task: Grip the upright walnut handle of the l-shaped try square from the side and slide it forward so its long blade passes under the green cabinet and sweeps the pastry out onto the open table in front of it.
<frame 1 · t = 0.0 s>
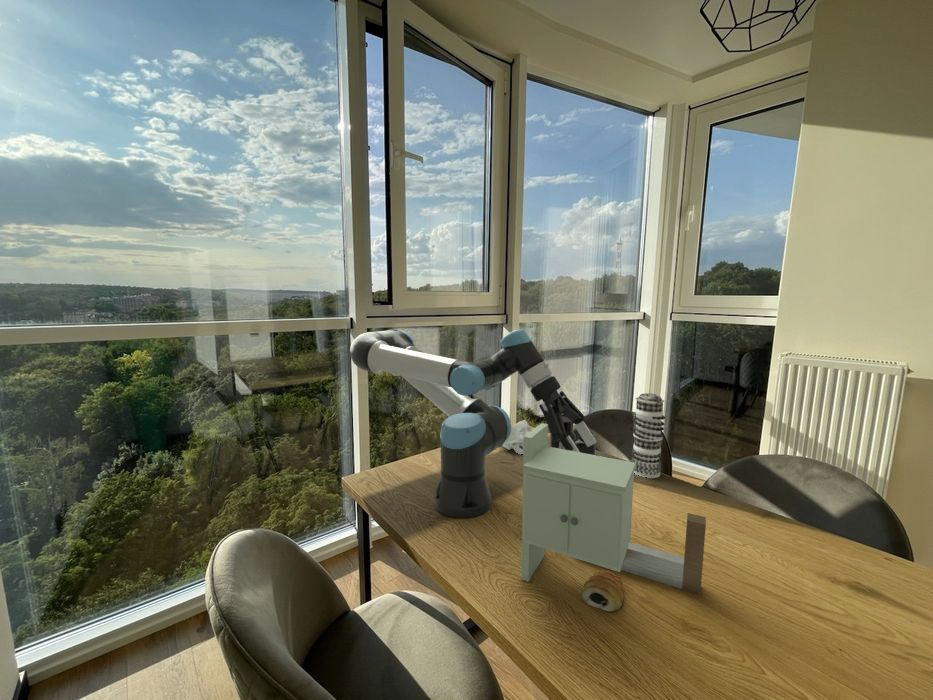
hand: (586, 452, 105), 15 cm above the table, tool tilted 35°, fingers open, 13 cm apart
decorative candle: (645, 472, 130), on the table
l-shaped try square: (691, 587, 78), on the table
green cabinet: (575, 589, 78), on the table
supplement bottle: (583, 468, 134), on the table
skull bowl: (517, 450, 149), on the table
pastry: (603, 598, 76), on the table
ink bottle: (562, 452, 147), on the table
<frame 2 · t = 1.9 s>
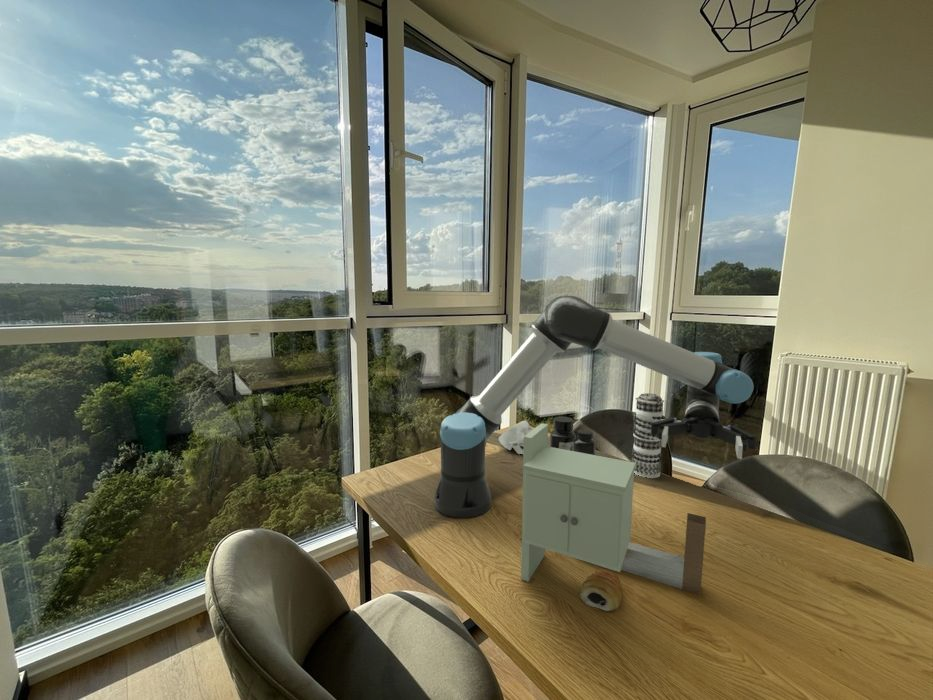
hand: (700, 446, 84), 25 cm above the table, tool horizontal, fingers open, 13 cm apart
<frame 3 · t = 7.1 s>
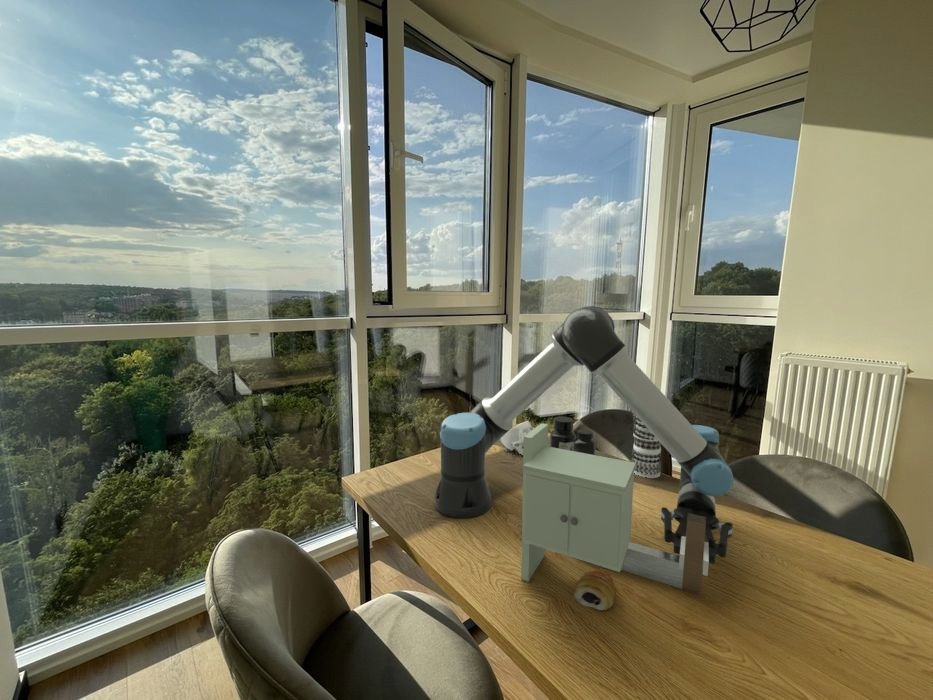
hand: (693, 564, 73), 8 cm above the table, tool horizontal, fingers closed on l-shaped try square, 3 cm apart
l-shaped try square: (691, 587, 78), on the table, touching gripper
pastry: (594, 596, 76), on the table
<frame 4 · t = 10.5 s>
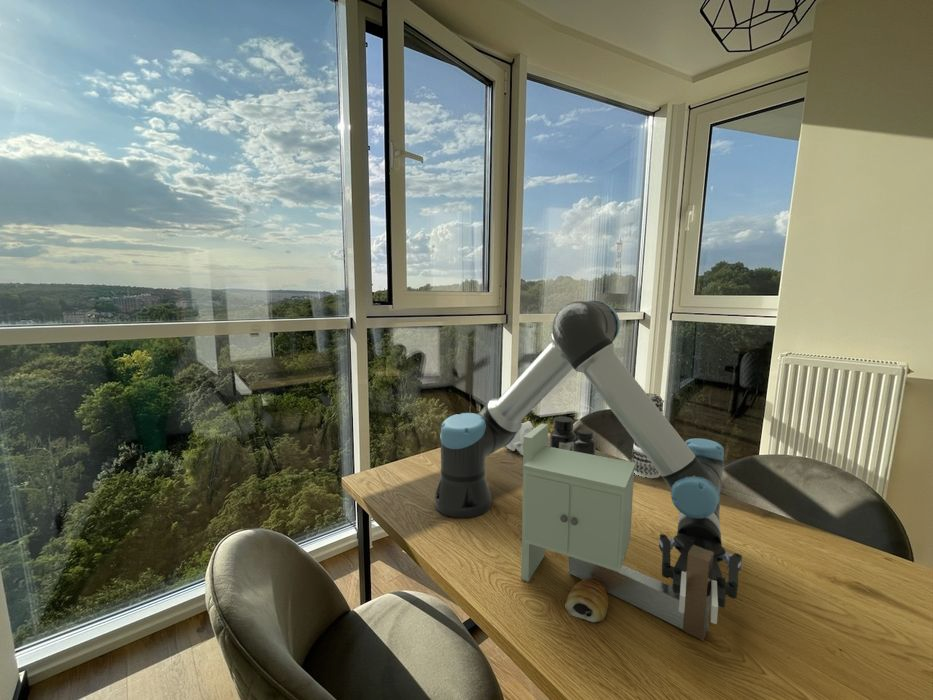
hand: (698, 609, 62), 8 cm above the table, tool horizontal, fingers closed on l-shaped try square, 3 cm apart
l-shaped try square: (695, 629, 68), on the table, touching gripper, pastry
pastry: (587, 607, 74), on the table, touching l-shaped try square
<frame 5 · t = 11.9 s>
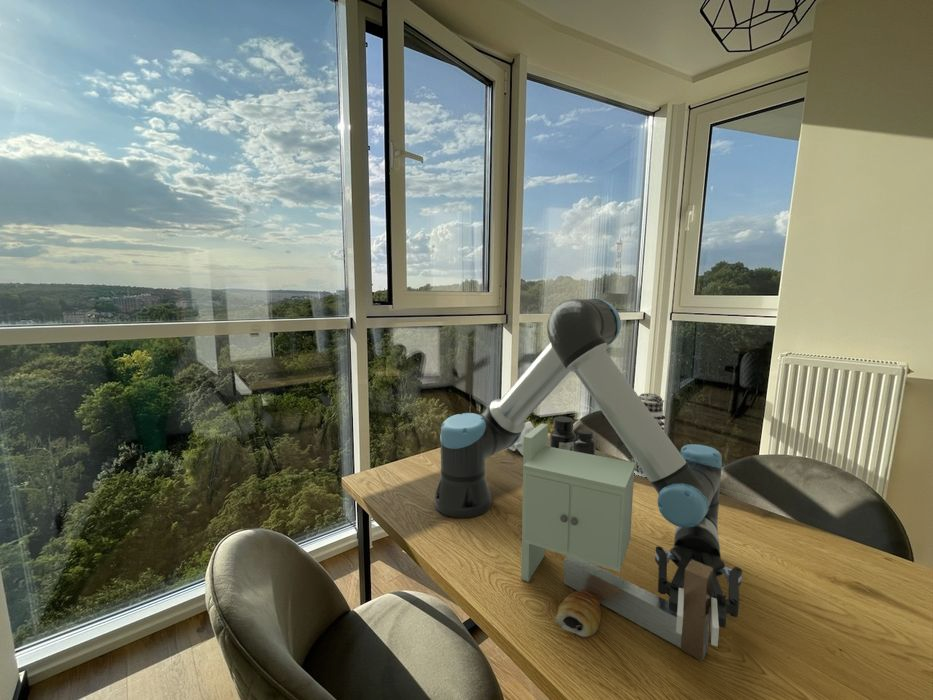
hand: (697, 630, 58), 8 cm above the table, tool horizontal, fingers closed on l-shaped try square, 4 cm apart
l-shaped try square: (694, 648, 64), on the table, touching gripper
pastry: (578, 620, 71), on the table
when the fingers open (9 cm above the table, at t = 13.2 s): l-shaped try square stays where it is, on the table.
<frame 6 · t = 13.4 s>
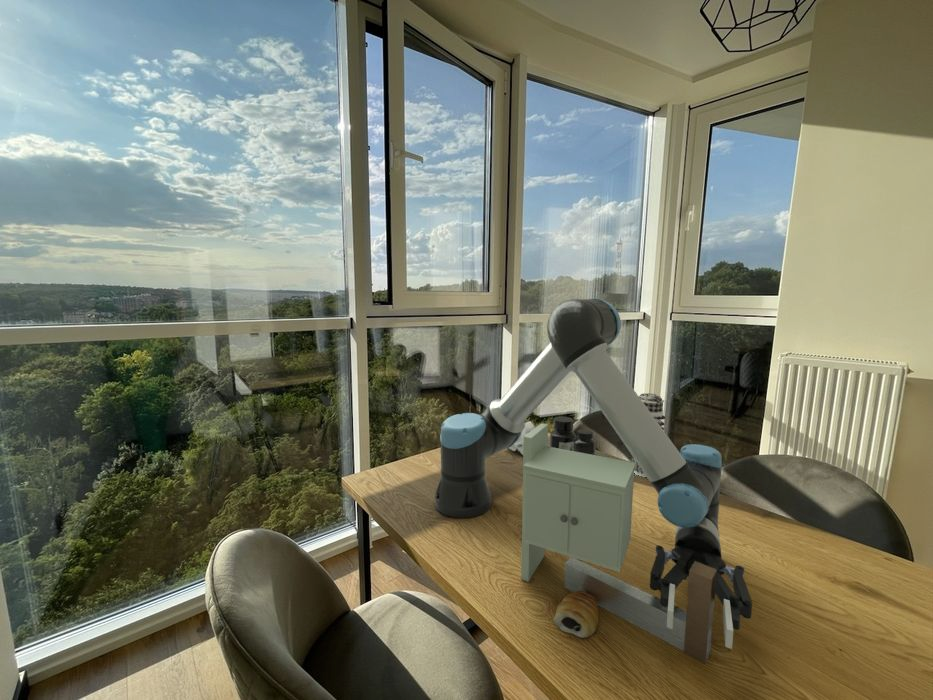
hand: (698, 628, 58), 9 cm above the table, tool horizontal, fingers open, 7 cm apart
l-shaped try square: (697, 651, 64), on the table
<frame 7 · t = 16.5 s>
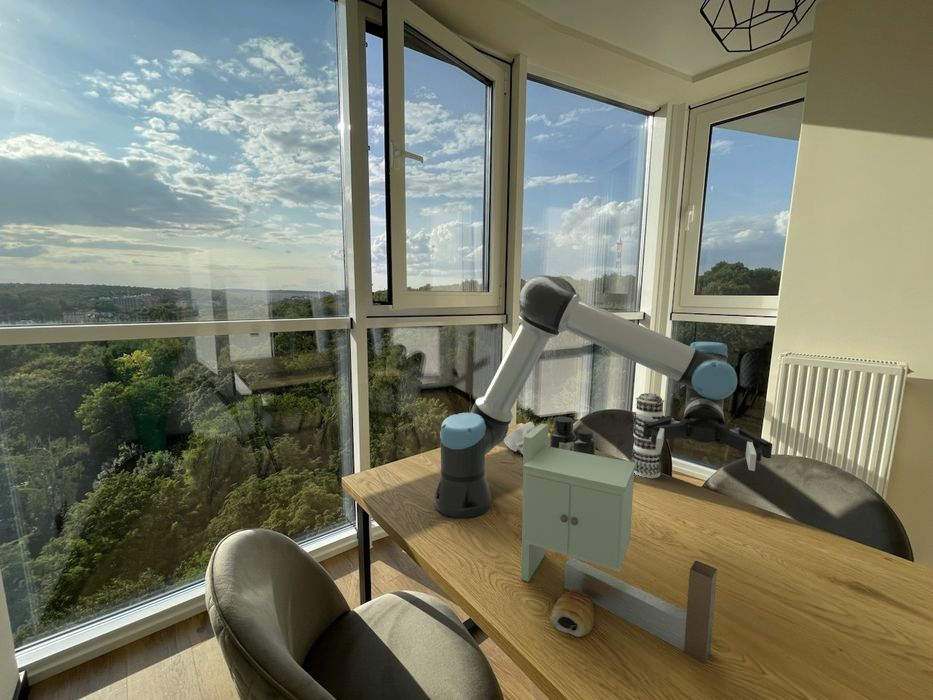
hand: (703, 453, 68), 29 cm above the table, tool horizontal, fingers open, 13 cm apart
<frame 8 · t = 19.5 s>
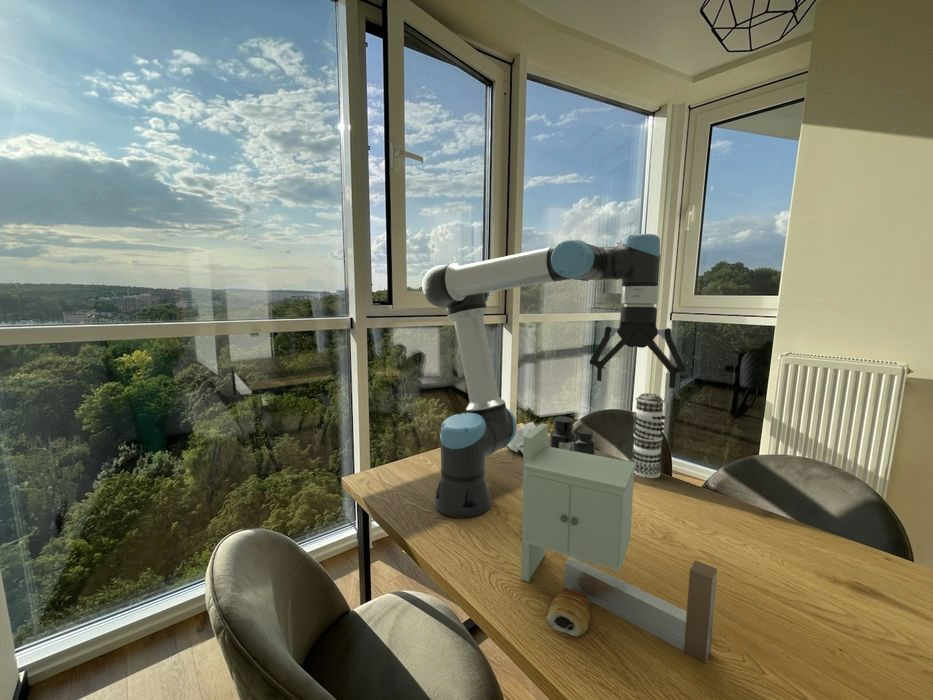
hand: (633, 398, 95), 32 cm above the table, tool pointing down, fingers open, 13 cm apart
at the end: pastry inside the target area (6.8 cm from its centre), on the table; the gripper is holding nothing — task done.
